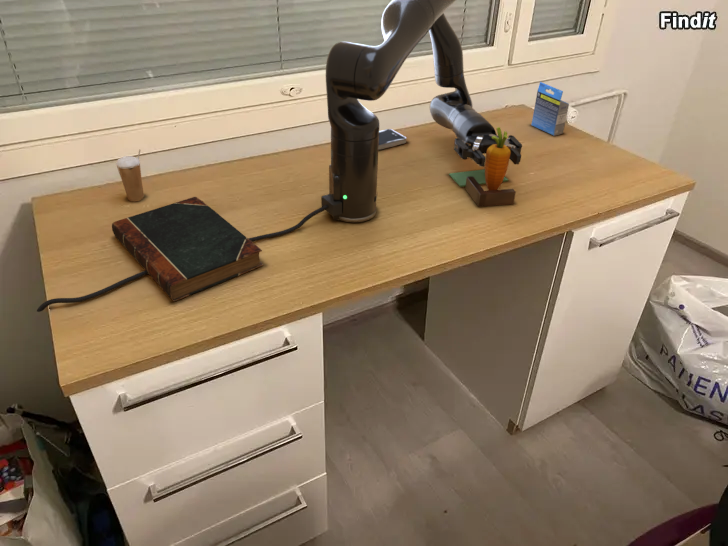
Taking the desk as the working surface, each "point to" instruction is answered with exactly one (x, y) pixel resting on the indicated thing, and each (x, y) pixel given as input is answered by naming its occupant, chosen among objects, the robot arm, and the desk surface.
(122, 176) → the milkshake
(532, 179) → the desk surface
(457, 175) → the rag
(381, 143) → the smartphone
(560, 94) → the label tape box
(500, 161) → the carrot
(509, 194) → the corner stop
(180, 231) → the book
